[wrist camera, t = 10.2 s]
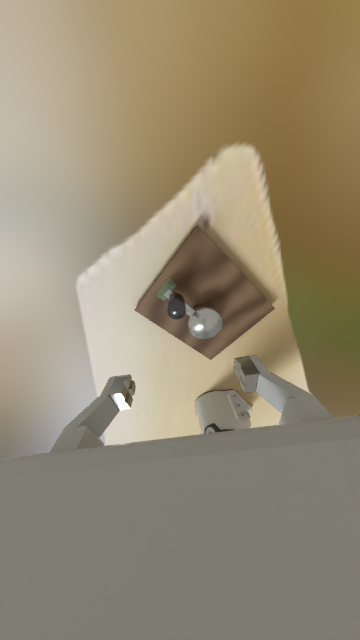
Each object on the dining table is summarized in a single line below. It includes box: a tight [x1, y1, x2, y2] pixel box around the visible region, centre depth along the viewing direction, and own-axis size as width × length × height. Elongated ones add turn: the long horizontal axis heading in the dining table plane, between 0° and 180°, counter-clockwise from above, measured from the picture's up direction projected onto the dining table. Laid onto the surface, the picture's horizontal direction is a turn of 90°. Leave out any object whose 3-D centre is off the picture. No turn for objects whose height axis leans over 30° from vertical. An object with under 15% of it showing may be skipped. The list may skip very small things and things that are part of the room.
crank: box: [164, 287, 222, 339], centre depth 27 cm, size 14×7×7 cm, turn 48°
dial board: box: [135, 225, 275, 360], centre depth 31 cm, size 24×20×2 cm
